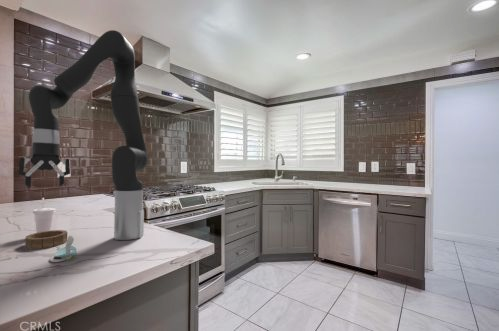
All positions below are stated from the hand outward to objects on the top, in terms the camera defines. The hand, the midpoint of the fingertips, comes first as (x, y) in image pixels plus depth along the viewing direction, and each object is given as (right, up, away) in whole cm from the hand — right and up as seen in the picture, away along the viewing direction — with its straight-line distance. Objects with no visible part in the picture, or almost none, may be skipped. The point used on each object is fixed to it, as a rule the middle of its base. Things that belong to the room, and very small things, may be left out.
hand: (45, 186), depth 87 cm
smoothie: (0, -18, 0) cm, 18 cm away
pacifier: (+23, -19, -20) cm, 36 cm away
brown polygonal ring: (+8, -18, -8) cm, 21 cm away
